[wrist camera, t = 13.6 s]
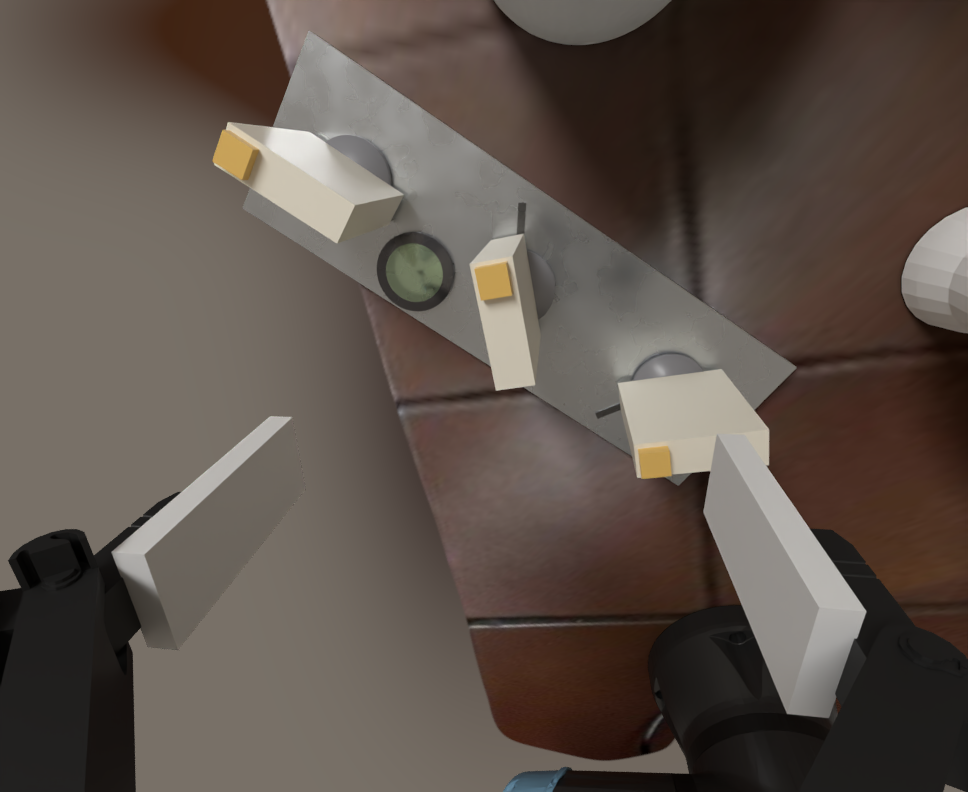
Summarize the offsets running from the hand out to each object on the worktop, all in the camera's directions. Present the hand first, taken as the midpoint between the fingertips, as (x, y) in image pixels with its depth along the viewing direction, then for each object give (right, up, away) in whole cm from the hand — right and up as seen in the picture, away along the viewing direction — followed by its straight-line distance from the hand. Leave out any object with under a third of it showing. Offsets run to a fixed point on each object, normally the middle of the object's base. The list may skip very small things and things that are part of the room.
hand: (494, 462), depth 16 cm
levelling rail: (+2, +10, +21) cm, 23 cm away
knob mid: (+2, +10, +20) cm, 22 cm away
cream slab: (-9, +16, +18) cm, 26 cm away
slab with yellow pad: (+13, +3, +21) cm, 25 cm away
